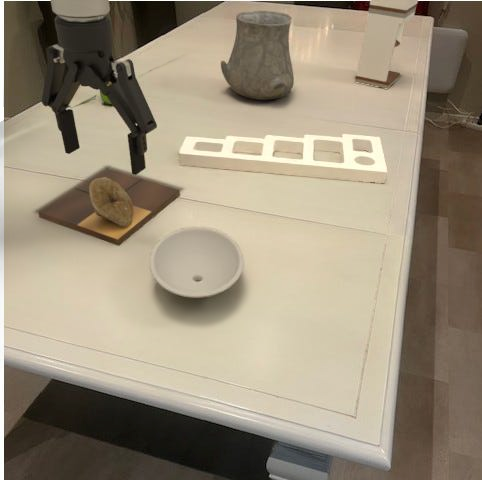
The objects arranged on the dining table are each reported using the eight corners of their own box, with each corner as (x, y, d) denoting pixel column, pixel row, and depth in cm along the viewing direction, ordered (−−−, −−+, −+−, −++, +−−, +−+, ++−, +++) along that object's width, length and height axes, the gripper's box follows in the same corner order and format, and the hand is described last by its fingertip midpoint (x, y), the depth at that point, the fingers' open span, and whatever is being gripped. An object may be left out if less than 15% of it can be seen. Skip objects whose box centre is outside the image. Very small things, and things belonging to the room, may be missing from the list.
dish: (155, 250, 83) (153, 226, 79) (238, 249, 84) (239, 225, 81) (148, 322, 70) (145, 297, 67) (246, 320, 71) (248, 295, 68)
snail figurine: (113, 97, 134) (106, 50, 126) (125, 104, 131) (120, 56, 122) (95, 101, 131) (88, 53, 123) (108, 108, 128) (101, 60, 120)
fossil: (91, 206, 79) (92, 166, 85) (76, 221, 81) (79, 181, 87) (136, 229, 85) (134, 191, 91) (121, 243, 87) (121, 204, 93)
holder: (178, 164, 106) (178, 153, 104) (194, 131, 119) (193, 121, 118) (384, 183, 104) (387, 172, 102) (376, 147, 117) (379, 137, 115)
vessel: (242, 113, 129) (245, 29, 115) (211, 86, 144) (211, 9, 130) (312, 104, 136) (323, 24, 122) (276, 79, 151) (282, 5, 137)
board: (39, 217, 89) (37, 211, 88) (107, 173, 102) (106, 167, 101) (118, 245, 84) (117, 239, 83) (180, 195, 97) (179, 189, 96)
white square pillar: (387, 89, 148) (421, -52, 124) (354, 82, 151) (381, -57, 127) (398, 79, 155) (431, -56, 131) (366, 73, 159) (393, -60, 135)
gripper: (175, 24, 64) (181, 170, 79) (32, -4, 72) (62, 134, 86) (142, 37, 59) (155, 190, 74) (-8, 5, 67) (31, 150, 81)
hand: (105, 160), depth 80 cm, fingers open, 13 cm apart
